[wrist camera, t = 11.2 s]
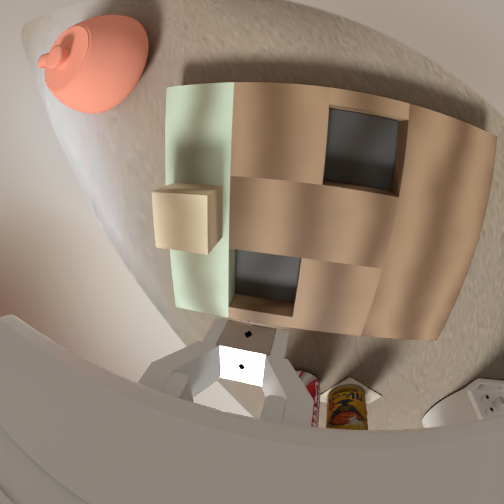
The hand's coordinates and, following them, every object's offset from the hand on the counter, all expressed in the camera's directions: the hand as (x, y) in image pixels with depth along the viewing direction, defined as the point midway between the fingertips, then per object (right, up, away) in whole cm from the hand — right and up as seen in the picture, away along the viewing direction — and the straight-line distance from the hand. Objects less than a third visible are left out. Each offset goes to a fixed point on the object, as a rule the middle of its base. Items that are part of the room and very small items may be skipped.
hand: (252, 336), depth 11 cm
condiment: (+15, -19, +26) cm, 36 cm away
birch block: (-5, +7, +14) cm, 17 cm away
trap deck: (+8, +7, +15) cm, 18 cm away
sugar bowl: (-17, +26, +12) cm, 33 cm away
